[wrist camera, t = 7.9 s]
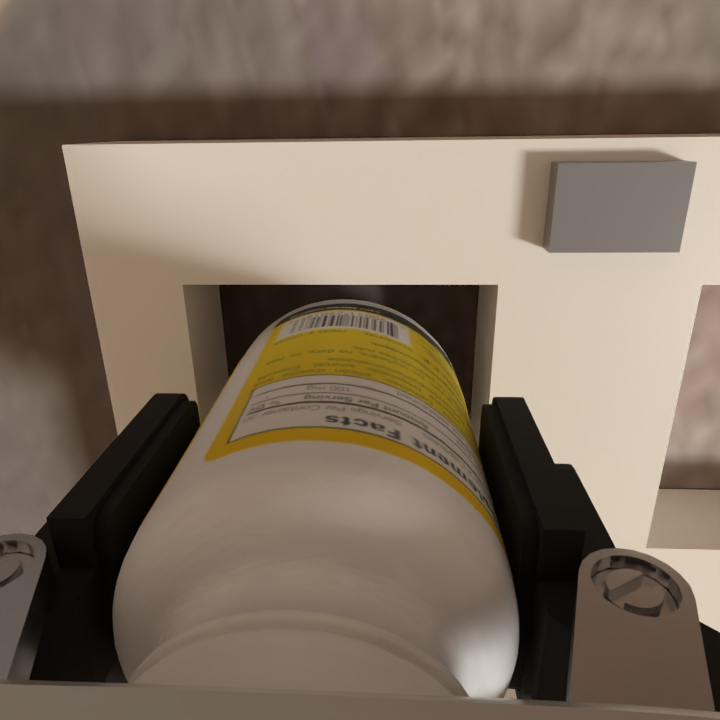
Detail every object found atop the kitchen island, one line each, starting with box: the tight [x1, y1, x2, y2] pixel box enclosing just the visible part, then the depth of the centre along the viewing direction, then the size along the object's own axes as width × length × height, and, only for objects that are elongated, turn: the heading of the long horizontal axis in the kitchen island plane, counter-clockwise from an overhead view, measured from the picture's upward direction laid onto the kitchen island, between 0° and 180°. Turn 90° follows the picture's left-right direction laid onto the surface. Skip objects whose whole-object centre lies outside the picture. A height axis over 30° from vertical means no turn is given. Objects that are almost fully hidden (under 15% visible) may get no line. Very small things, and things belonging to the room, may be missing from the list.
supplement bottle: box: [112, 299, 520, 698], centre depth 10 cm, size 5×5×10 cm
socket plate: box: [62, 133, 720, 632], centre depth 14 cm, size 12×21×3 cm, turn 91°
